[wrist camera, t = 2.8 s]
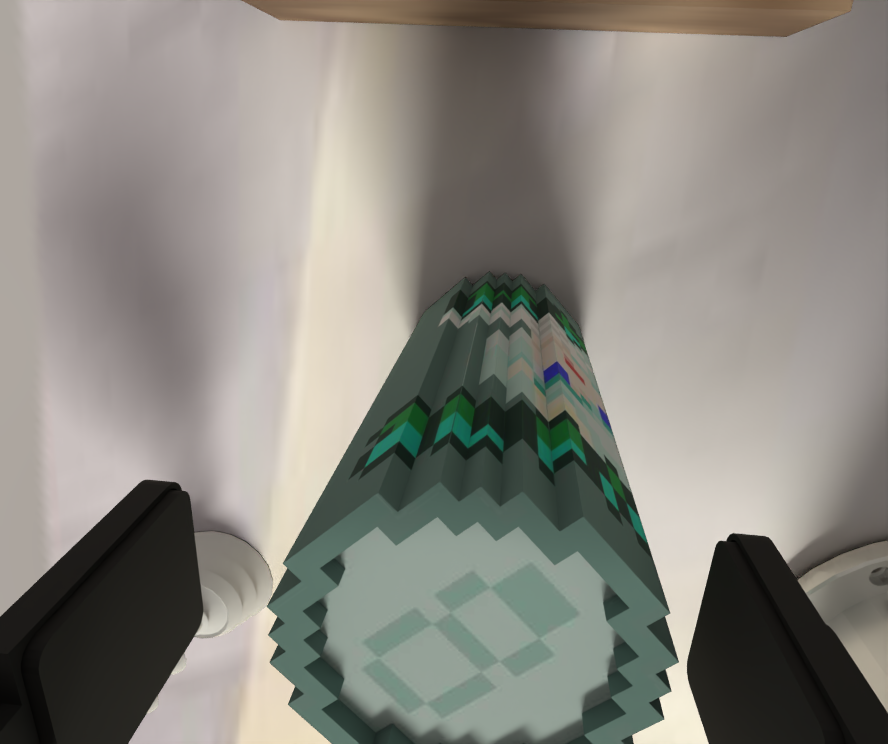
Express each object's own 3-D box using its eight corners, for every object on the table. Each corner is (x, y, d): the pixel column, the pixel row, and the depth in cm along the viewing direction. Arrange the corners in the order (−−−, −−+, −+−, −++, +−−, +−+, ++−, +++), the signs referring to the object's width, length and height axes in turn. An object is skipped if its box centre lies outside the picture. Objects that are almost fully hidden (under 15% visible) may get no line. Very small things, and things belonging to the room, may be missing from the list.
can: (611, 365, 23) (749, 702, 9) (487, 454, 25) (446, 845, 11) (508, 240, 22) (488, 410, 8) (386, 343, 24) (199, 625, 10)
